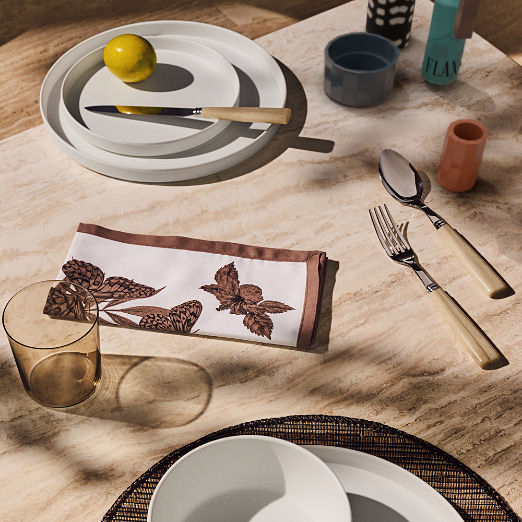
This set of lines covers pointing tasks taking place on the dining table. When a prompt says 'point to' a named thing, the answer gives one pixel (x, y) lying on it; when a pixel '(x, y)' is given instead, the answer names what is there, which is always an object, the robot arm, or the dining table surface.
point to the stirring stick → (466, 18)
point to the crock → (462, 154)
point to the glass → (391, 20)
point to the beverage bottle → (443, 45)
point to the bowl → (360, 68)
